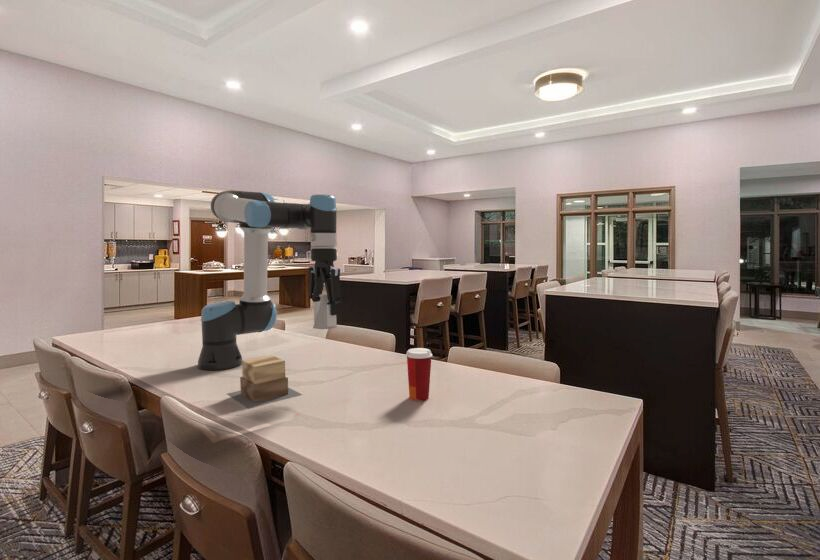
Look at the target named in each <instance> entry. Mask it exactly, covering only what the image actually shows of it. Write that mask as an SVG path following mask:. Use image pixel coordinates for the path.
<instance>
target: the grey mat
mask: <svg viewBox="0 0 820 560" xmlns="http://www.w3.org/2000/svg"><path fill="white" fill-rule="evenodd" d="M226 395H227V396H229V397H231V398H232V399H233V400H235V401H236V402H237V403H239V404H241V405H242V406H244V407H245V408H247V409H252V408H257V407H260V406H265V405H268V404H272V403H275V402H281V401H284V400H287V399H288V400H289V399H292V398H296V397H300V396H303V394H302V393H301V392H298V391H296V390H294V389H292V388H290V387H289V386H288V395H284V396H280V397H276V398H272V399H268V400H264V401H260V402H256V403H254V402H253V401H251V400H250V399H248V398H247V397H245V396H243V395H242V394H241V390H236V391H233V392H228V393H226Z"/></svg>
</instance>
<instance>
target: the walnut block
mask: <svg viewBox="0 0 820 560" xmlns="http://www.w3.org/2000/svg"><path fill="white" fill-rule="evenodd" d="M288 387H289V377H287V376H285V378H282V379H277V380H273V381H268V382H264V383H259V384H254V383H252V382H250V381H248V380H247V379H245V378H243V376H240V391H241V394H242V395H243V396H245V397H247V398H248V399H250V400H251V401H253V402H254V403H256V402H260V401H264V400H268V399H272V398H276V397H280V396H284V395H288Z"/></svg>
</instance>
